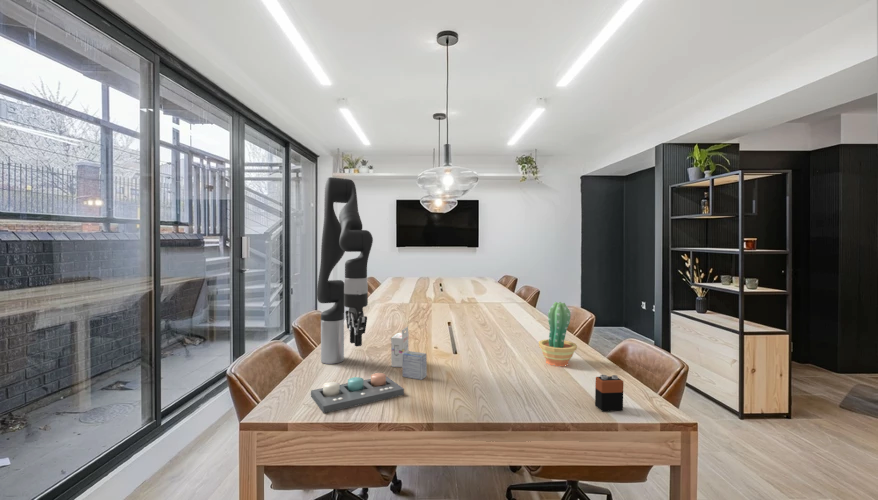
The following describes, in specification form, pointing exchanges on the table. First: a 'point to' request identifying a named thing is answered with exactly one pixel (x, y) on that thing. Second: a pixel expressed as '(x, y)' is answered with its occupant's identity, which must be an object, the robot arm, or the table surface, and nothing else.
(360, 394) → the button panel
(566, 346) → the potted cactus
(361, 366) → the table surface
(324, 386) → the cream button
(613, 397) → the battery
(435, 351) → the table surface
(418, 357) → the medicine box
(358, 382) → the teal button
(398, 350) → the ink cartridge box
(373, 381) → the terracotta button
